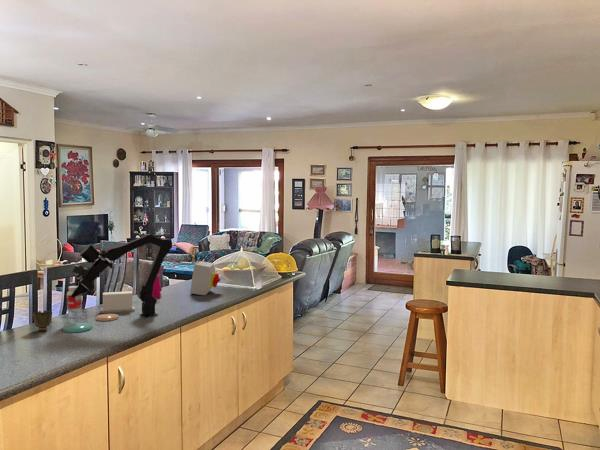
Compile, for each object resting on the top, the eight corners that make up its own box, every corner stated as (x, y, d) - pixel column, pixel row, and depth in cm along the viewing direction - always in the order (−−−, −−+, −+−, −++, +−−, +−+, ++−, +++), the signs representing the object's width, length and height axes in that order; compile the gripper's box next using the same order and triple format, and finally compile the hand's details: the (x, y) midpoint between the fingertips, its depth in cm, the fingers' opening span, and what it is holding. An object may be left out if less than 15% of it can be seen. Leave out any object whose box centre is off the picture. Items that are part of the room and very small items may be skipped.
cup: (32, 333, 208) (32, 315, 207) (33, 329, 214) (32, 311, 214) (52, 331, 211) (52, 313, 211) (52, 327, 218) (52, 309, 217)
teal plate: (98, 328, 217) (98, 326, 217) (71, 334, 208) (71, 332, 208) (83, 323, 225) (83, 321, 224) (57, 329, 215) (57, 326, 215)
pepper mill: (158, 298, 278) (158, 263, 277) (146, 297, 280) (146, 263, 278) (164, 295, 285) (164, 261, 284) (152, 294, 287) (152, 261, 285)
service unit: (134, 310, 249) (134, 293, 249) (100, 313, 244) (100, 295, 243) (134, 307, 256) (134, 290, 255) (101, 309, 250) (101, 292, 250)
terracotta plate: (122, 318, 235) (122, 316, 235) (103, 322, 227) (103, 320, 227) (110, 314, 241) (110, 312, 241) (91, 318, 233) (91, 316, 233)
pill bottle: (64, 310, 223) (63, 286, 222) (77, 308, 228) (76, 284, 227) (72, 312, 219) (71, 288, 219) (84, 310, 224) (84, 286, 224)
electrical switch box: (214, 299, 288) (219, 266, 286) (189, 295, 288) (194, 262, 286) (218, 294, 302) (223, 262, 301) (195, 290, 302) (200, 258, 301)
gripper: (80, 255, 232) (55, 280, 227) (85, 261, 216) (58, 288, 211) (98, 270, 236) (74, 295, 232) (104, 277, 220) (78, 303, 216)
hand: (71, 295), depth 222 cm, fingers closed on pill bottle, 6 cm apart
